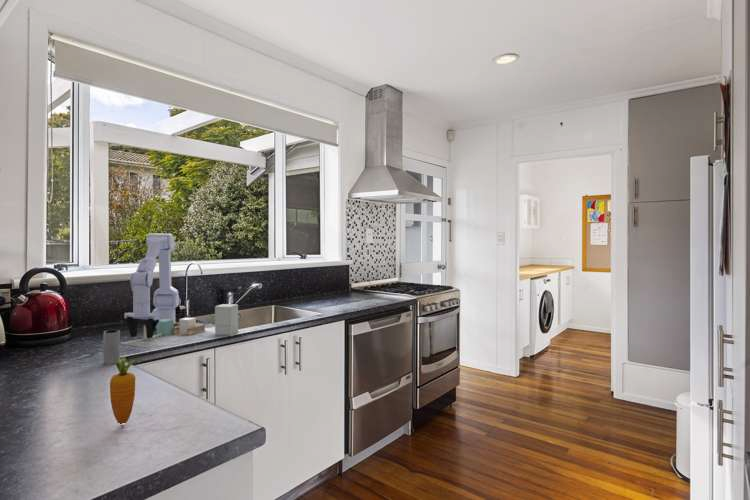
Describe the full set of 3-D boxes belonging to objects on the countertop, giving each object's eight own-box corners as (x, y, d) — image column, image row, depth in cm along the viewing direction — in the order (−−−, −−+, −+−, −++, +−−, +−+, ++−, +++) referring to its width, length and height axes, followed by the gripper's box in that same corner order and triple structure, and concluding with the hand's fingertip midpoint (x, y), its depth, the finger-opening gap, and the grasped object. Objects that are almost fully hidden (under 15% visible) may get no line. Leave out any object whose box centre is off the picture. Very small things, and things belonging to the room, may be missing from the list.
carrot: (116, 421, 93) (116, 354, 93) (140, 421, 93) (140, 354, 93) (104, 431, 88) (104, 360, 88) (129, 431, 88) (129, 360, 88)
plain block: (179, 333, 178) (179, 319, 178) (186, 331, 182) (186, 317, 182) (188, 334, 177) (188, 320, 176) (195, 332, 181) (195, 318, 181)
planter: (123, 361, 138) (123, 330, 138) (110, 365, 134) (110, 333, 134) (113, 360, 140) (112, 329, 140) (100, 363, 136) (100, 332, 135)
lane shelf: (158, 334, 178) (158, 326, 178) (175, 329, 188) (175, 322, 188) (189, 336, 174) (189, 328, 174) (204, 331, 184) (204, 324, 184)
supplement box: (238, 332, 183) (238, 304, 183) (231, 336, 176) (231, 306, 175) (222, 332, 184) (222, 303, 183) (214, 336, 176) (214, 306, 176)
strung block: (140, 341, 166) (139, 326, 166) (164, 332, 179) (164, 318, 178) (149, 341, 165) (149, 326, 165) (173, 333, 178) (173, 319, 177)
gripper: (117, 303, 162) (117, 338, 162) (149, 305, 158) (149, 340, 158) (132, 300, 169) (132, 334, 169) (163, 302, 165) (163, 336, 165)
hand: (141, 337), depth 164 cm, fingers open, 7 cm apart
